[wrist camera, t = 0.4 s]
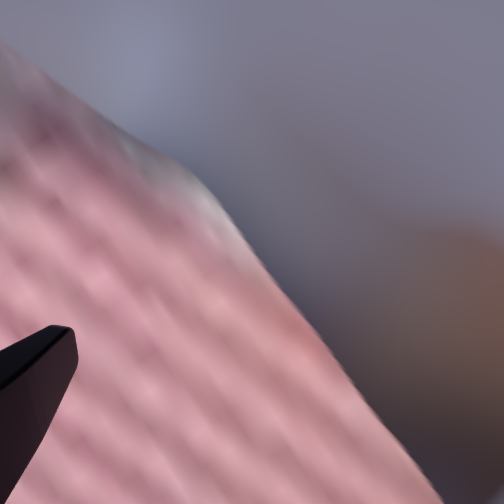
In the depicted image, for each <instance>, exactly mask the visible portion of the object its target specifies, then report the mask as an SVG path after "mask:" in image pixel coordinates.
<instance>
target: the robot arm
mask: <svg viewBox="0 0 504 504" xmlns="http://www.w3.org/2000/svg"><path fill="white" fill-rule="evenodd" d="M77 365H78V351H77V345H76V338H75V333H74V331H73V329H72V328H70V327H65V326H60V325H50V326H48V327H46V328H44V329H42V330H40V331H38V332H36V333H34V334H32V335H30V336H28V337H26V338H24V339H22V340H20V341H18V342H16V343H14V344H12V345H10V346H8V347H6V348H5V349H3V350H1V351H0V504H5V502H6V500H7V499H8V497H9V495H10V494H11V492H12V490H13V489H14V487H15V485H16V484H17V482H18V480H19V479H20V477H21V476H22V474H23V472H24V471H25V469H26V467H27V466H28V464H29V462H30V461H31V459H32V457H33V456H34V454H35V452H36V450H37V449H38V447H39V445H40V443H41V442H42V440H43V438H44V436H45V434H46V432H47V430H48V428H49V426H50V424H51V422H52V420H53V417H54V415H55V413H56V411H57V409H58V407H59V405H60V403H61V400H62V398H63V396H64V394H65V392H66V390H67V388H68V386H69V383H70V381H71V379H72V377H73V375H74V373H75V371H76V368H77Z"/></svg>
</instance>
